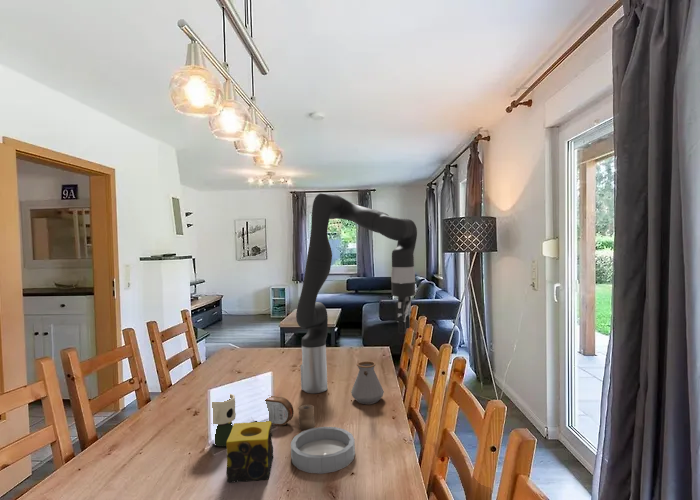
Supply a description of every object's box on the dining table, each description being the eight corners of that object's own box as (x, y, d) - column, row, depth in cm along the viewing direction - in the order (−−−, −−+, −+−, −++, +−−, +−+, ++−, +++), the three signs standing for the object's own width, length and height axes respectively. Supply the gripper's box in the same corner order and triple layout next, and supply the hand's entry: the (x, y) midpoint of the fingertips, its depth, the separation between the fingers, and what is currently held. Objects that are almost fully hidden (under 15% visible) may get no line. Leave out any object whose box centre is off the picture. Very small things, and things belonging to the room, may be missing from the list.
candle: (234, 460, 104) (233, 422, 104) (273, 457, 105) (272, 419, 105) (225, 484, 94) (224, 441, 94) (269, 480, 95) (267, 438, 94)
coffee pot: (352, 394, 147) (351, 353, 147) (383, 393, 146) (382, 353, 146) (348, 419, 126) (346, 372, 126) (385, 419, 125) (383, 371, 125)
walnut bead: (296, 428, 121) (295, 408, 121) (305, 422, 125) (305, 403, 125) (308, 432, 118) (307, 411, 118) (317, 425, 122) (316, 406, 122)
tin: (294, 423, 124) (293, 397, 124) (289, 428, 121) (288, 400, 121) (252, 418, 129) (251, 392, 129) (247, 422, 126) (246, 396, 126)
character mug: (229, 453, 108) (227, 405, 108) (203, 453, 108) (201, 405, 108) (242, 434, 119) (240, 390, 118) (218, 434, 119) (217, 391, 119)
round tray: (278, 462, 102) (277, 447, 102) (316, 435, 116) (316, 422, 116) (331, 480, 94) (330, 464, 93) (365, 448, 107) (365, 434, 107)
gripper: (395, 278, 136) (396, 325, 137) (386, 283, 123) (388, 335, 123) (418, 278, 134) (418, 326, 134) (411, 283, 120) (412, 336, 121)
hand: (404, 330), depth 129 cm, fingers open, 8 cm apart
